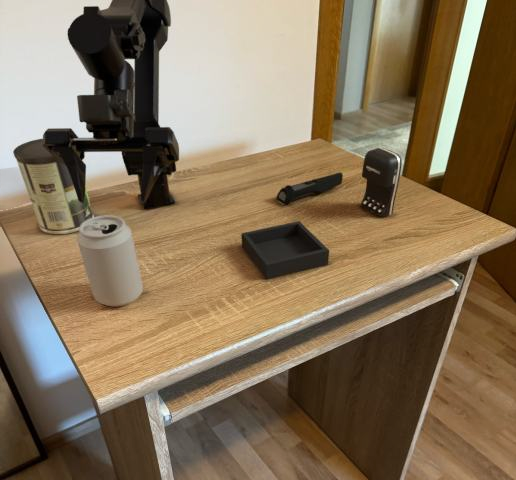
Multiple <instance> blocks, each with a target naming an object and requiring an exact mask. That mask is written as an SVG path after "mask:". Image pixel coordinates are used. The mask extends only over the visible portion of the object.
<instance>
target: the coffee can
mask: <svg viewBox="0 0 516 480" xmlns="http://www.w3.org/2000/svg"><path fill="white" fill-rule="evenodd" d="M12 151H13V156H14V158H15V159H16V162H17V165H18V168H19V171H20V174H21V176H22V179H23V182H24V186H25V188H26V191H27V194H28V197H29V199H30V202H31V205H32V208H33V211H34V214H35V217H36V220H37V223H38V226H39V229H40V230H41V231H42V232H43V233H46V234H49V235H68V234H73V233H76V232H79V227H80V225H81V224H82V223H83V222H85V221H86V220H88V219H90V218H93V217H95V215H94V212H93V208H92V205H91V201H90V198H89V194H88V189H87V186H86V185H85V198H84V203H80V202H79V200H78V197H77V194H76V191H75V188H74V185H73V182H72V179H71V176H70V173H69V171H68V169H67V167H66V166H65V165H64V164H63V163H61V162H58V161H57V160H56V159H55V158H54V157H53V156H52V155H51V154H50V153H49V152H48V151H47V150H46V149H45V148H44V147H43V138H38V139H33V140H29V141H26V142H24V143H21V144H20V145H18V146H17V147H15V148H14V149H13V150H12Z"/></svg>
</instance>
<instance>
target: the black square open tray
mask: <svg viewBox="0 0 516 480" xmlns="http://www.w3.org/2000/svg"><path fill="white" fill-rule="evenodd" d="M240 235H241V248H242V249H243V250H244V252H245V253H246V255H247V256H248V257H249V258H250V260H251V261H252V262H253V264H254V265H255V266H256V267H257V269H258V270H259V271H260V273H261V274H262V276H263V277H264V278H265V279H266V280H270V279H274V278H278V277H282V276H286V275H290V274H294V273H299V272H302V271H307V270H311V269H315V268H319V267H324V266H328V265H329V260H330V259H329V257H330V250H329V249H328V247H326V246H325V244H324V243H322V241H320V240H319V239H318V238H317V236H315V235H314V234H313V233H312V232H311V230H309V229H308V228H307V227H306V226H305V225H304V224H303V223H302V222H301V221H300V220H298V221H293V222H289V223H284V224H279V225H274V226H271V227H270V226H269V227H265V228H259V229H256V230H250V231H246V232H241V234H240Z"/></svg>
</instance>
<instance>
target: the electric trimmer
mask: <svg viewBox="0 0 516 480" xmlns="http://www.w3.org/2000/svg"><path fill="white" fill-rule="evenodd" d="M343 179H344V176H343V173H342V172H336V173H333V174H329V175H325V176H321V177H318V178H313V179H311V180H307V181H303V182H300V183H296V184H293V185H289V184H288V185H285V186H284V187H282V188H280V190H279V191H278V193H277V195H276V202H277V203H279V204H281V205H283V206H284V205H286V206H288V205H290V204H291V202H292V201H296V200H298V199H301V198H304V197H308V196H310V195H314V194H317V195H319V194H322V193H325V192H327V191H329V190H332V189H334V188H337V187H338V186H340V185H341V184H342V183H343Z"/></svg>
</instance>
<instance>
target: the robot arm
mask: <svg viewBox="0 0 516 480" xmlns="http://www.w3.org/2000/svg"><path fill="white" fill-rule="evenodd" d="M171 26H172V17H171V9H170V5H169V2H168V0H111V2H110V4H109V5H108V7H107V8H105V9H100V7H99V5H98V6H97V5H93V6H92V5H91V6H90V5H89V6H88V5H87V6H86V5H85V6H83V12H82V14H80V15H78V16H77V17H76V18H75V19H73V20H72V22H71V23H70V25H69V27H68V29H67V32H66V33H67V40H68V42H69V44H70V46H71V48H72V49H73V51H74V53H75V54H76V56H77V58H78V60H79V61H80V63H81V64H82V66H83V68H84V70H85V71H86V73H87V75H88V76H90V77H92V78H93V94H79V95H77V96H76V101H77V109H78V119H79V122H80V123H85V129H86V130H87V132H88V133H90V134H91V133H92V137H79V136H78V135H77V134H76V132H75V131H74V130H73V128H70V127H67V128H66V127H65V128H61V127H59V128H58V127H57V128H54V127H53V128H47V129H46V130H44V132H43V134H42V139H43V147H44V148H45V149H46V150H47V151H48V152H49V153H50V154H51V155H52V156H53V157H54V158H55V159H56V160H57V161H58V162H61V163H63V164H64V165H65V166H66V167H67V169H68V171H69V173H70V176H71V179H72V182H73V185H74V188H75V191H76V194H77V197H78V200H79V202H80V203H84V198H85V186H86V182H87V181H86V180H87V178H86V177H87V165H86V162H84V159H85V157H86V156H85V153H112V152H113V153H117V152H118V153H119V152H120V153H121V158H122V161H123V164H124V168H125V170H126V173H127V176H137V181H138V186H139V191H140V194H137V198H138V201H139V203H140V204H141V207H142V208H143V210H150V209H154V208H159V207H164V206H169V205H170V206H171V205H174V204H176V200H175V198H174V196H173V195H172V194H171V192H170V187H169V179H168V176H172V174H173V173H175V172H177V164H176V163H177V162H178V161H180V146H179V142H178V140H177V137H176V135H175V132H174V130H173V129H172V128H171V127H170V126H165V127H164V126H160V123H159V117H160V116H159V113H160V112H159V111H160V110H159V108H160V107H159V104H160V101H159V100H160V98H159V97H160V52H161V50H162V49H163V47H164V46H165V45H166V43H167V42H168V38H169V27H171ZM127 60H134V61H133V62H134V64H133V65H134V66H132V64H131V63H130V62H129V61H127ZM133 67H134V68H133Z"/></svg>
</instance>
